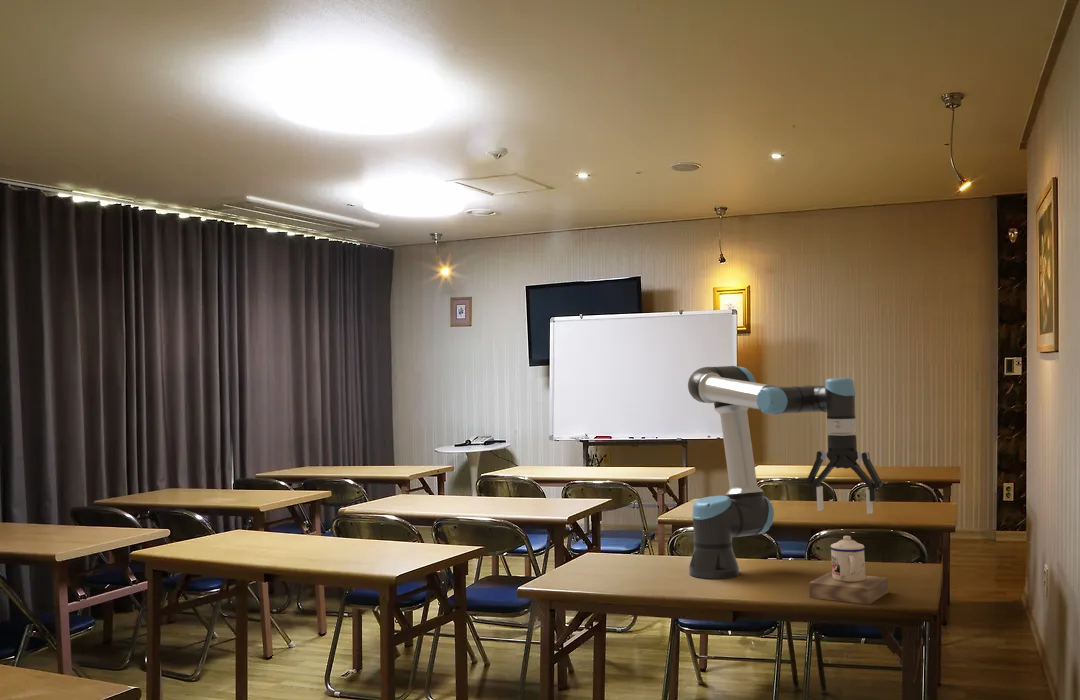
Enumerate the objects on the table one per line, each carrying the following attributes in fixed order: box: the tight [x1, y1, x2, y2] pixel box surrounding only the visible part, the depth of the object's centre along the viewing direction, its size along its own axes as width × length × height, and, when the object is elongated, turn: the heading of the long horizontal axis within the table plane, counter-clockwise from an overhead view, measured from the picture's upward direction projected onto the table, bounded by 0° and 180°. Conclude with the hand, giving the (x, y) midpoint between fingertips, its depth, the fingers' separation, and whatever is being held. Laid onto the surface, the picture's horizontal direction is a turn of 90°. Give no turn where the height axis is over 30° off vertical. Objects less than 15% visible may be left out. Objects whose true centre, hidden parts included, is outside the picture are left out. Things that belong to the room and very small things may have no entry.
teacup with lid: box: [829, 535, 866, 582], centre depth 246 cm, size 12×9×12 cm
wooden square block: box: [808, 571, 889, 605], centre depth 245 cm, size 16×16×4 cm
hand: (844, 511), depth 247 cm, fingers open, 13 cm apart
